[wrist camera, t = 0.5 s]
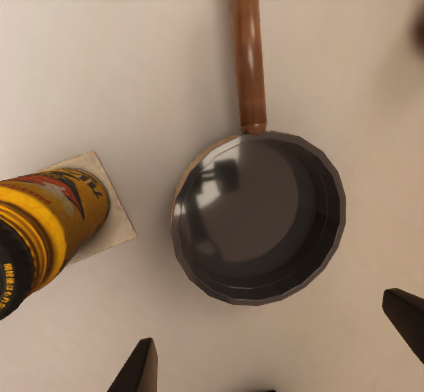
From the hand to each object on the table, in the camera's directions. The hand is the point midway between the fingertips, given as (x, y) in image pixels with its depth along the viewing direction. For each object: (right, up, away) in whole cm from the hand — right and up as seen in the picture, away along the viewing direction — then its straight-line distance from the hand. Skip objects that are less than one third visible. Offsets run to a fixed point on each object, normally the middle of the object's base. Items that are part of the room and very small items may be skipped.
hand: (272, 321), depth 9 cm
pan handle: (0, +15, +9) cm, 18 cm away
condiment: (-14, +3, +12) cm, 19 cm away
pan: (+1, +3, +14) cm, 15 cm away
